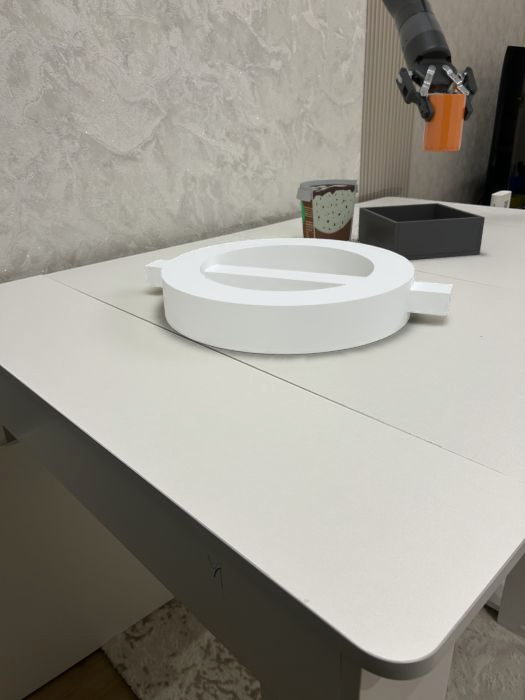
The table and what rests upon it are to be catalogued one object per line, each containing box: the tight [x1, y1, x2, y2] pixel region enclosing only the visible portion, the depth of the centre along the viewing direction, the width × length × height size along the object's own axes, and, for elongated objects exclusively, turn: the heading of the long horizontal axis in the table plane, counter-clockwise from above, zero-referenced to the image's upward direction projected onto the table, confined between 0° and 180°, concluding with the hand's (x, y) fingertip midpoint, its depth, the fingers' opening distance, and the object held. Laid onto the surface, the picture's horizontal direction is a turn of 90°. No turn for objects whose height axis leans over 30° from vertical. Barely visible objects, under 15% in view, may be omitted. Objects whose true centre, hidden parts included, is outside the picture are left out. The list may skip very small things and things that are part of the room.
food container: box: [295, 178, 359, 242], centre depth 90 cm, size 12×6×10 cm, turn 134°
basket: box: [357, 202, 486, 261], centre depth 87 cm, size 14×14×6 cm
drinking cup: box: [421, 93, 467, 152], centre depth 96 cm, size 6×6×9 cm
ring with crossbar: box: [143, 237, 454, 355], centre depth 63 cm, size 28×28×5 cm
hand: (449, 117), depth 94 cm, fingers closed on drinking cup, 6 cm apart
